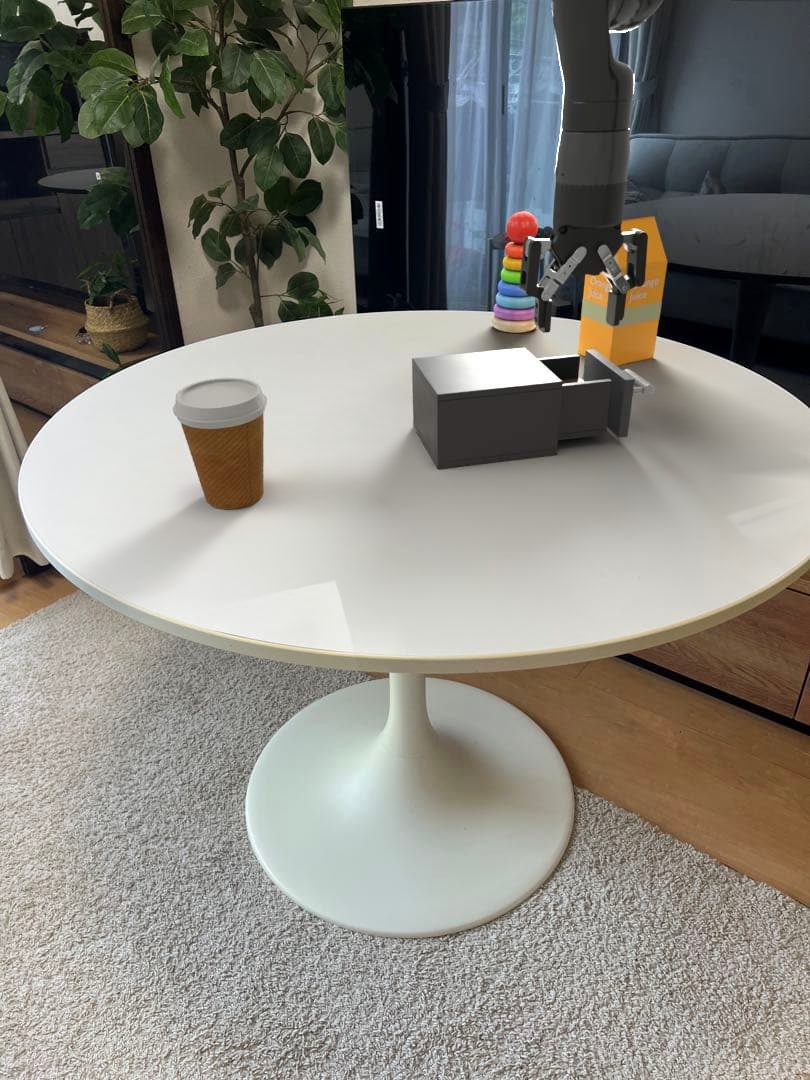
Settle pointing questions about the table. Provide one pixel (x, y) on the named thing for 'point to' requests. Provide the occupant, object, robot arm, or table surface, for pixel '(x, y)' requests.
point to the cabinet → (485, 407)
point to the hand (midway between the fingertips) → (578, 327)
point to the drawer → (595, 395)
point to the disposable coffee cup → (225, 438)
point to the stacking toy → (515, 279)
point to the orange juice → (626, 305)
